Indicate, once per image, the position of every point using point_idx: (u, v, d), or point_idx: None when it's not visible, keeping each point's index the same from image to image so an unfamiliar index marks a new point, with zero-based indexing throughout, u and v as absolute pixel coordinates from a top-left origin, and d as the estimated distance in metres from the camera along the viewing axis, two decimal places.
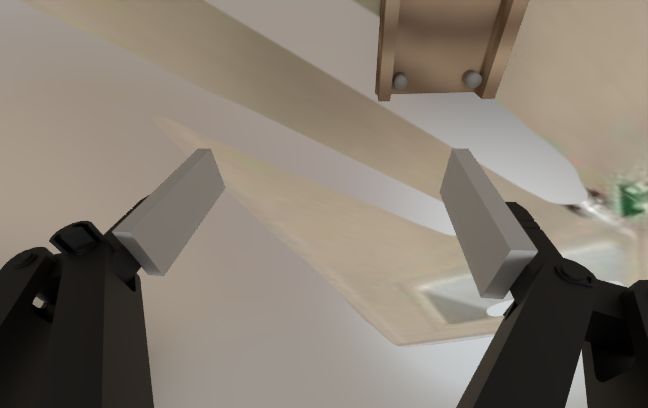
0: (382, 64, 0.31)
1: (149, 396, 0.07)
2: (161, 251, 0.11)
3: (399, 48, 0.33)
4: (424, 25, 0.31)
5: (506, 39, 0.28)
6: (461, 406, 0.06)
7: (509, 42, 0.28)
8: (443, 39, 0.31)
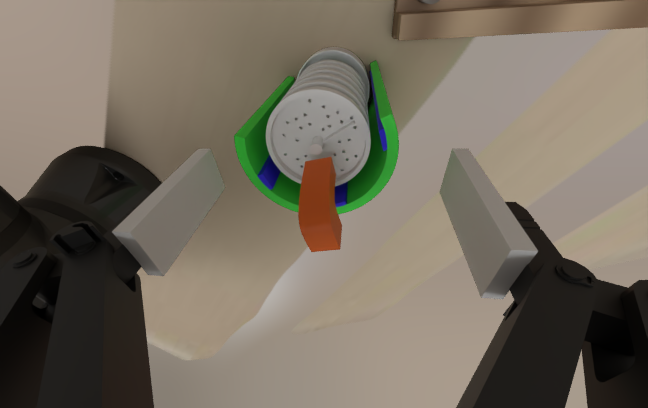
0: (576, 28, 0.17)
1: (150, 395, 0.07)
2: (161, 251, 0.11)
3: None
4: None
5: None
6: (461, 406, 0.06)
7: None
8: None
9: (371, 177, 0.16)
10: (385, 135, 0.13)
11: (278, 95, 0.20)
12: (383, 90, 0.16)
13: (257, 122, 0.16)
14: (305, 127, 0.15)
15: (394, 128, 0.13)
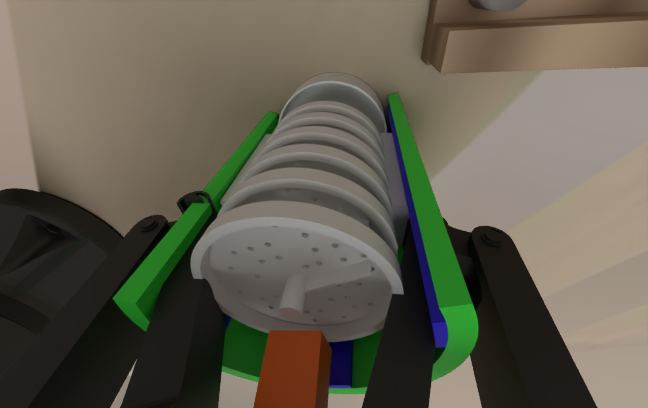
0: None
1: (219, 373, 0.08)
2: None
3: None
4: None
5: None
6: None
7: None
8: None
9: None
10: (447, 330, 0.06)
11: (244, 155, 0.13)
12: (425, 180, 0.08)
13: (184, 237, 0.08)
14: (272, 259, 0.08)
15: (472, 323, 0.05)
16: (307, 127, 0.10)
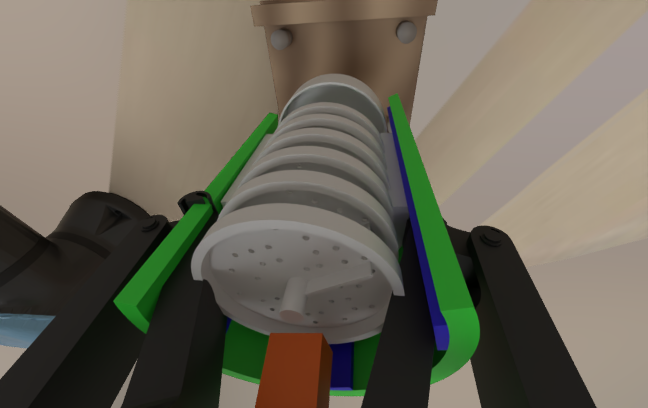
0: None
1: (220, 373, 0.08)
2: None
3: None
4: None
5: (358, 11, 0.22)
6: None
7: (363, 4, 0.22)
8: (358, 77, 0.28)
9: None
10: (448, 333, 0.05)
11: (244, 156, 0.13)
12: (426, 182, 0.08)
13: (184, 239, 0.08)
14: (272, 262, 0.08)
15: (473, 326, 0.05)
16: (307, 129, 0.10)
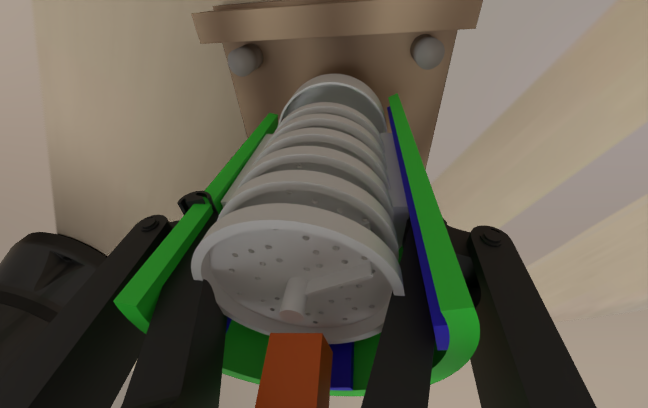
0: None
1: (219, 373, 0.08)
2: None
3: None
4: None
5: (356, 22, 0.14)
6: None
7: (363, 12, 0.14)
8: None
9: None
10: (448, 333, 0.05)
11: (244, 156, 0.13)
12: (426, 182, 0.08)
13: (184, 239, 0.08)
14: (272, 262, 0.08)
15: (474, 327, 0.05)
16: (307, 129, 0.10)
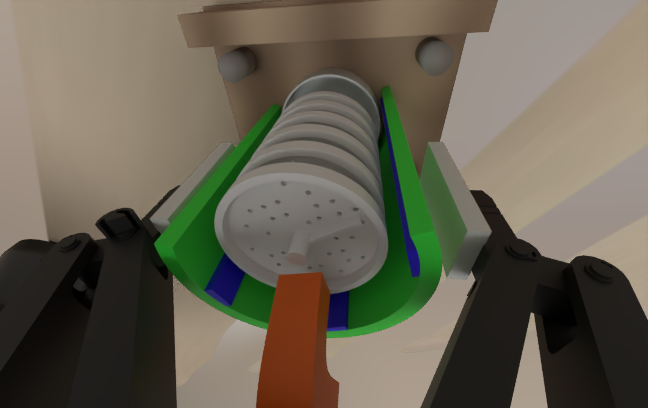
0: None
1: (173, 385, 0.07)
2: None
3: None
4: None
5: (357, 25, 0.13)
6: (432, 386, 0.07)
7: (365, 13, 0.13)
8: None
9: (387, 289, 0.10)
10: (418, 258, 0.07)
11: (252, 140, 0.14)
12: (407, 153, 0.10)
13: (206, 202, 0.10)
14: (280, 217, 0.09)
15: (436, 250, 0.07)
16: (308, 111, 0.11)
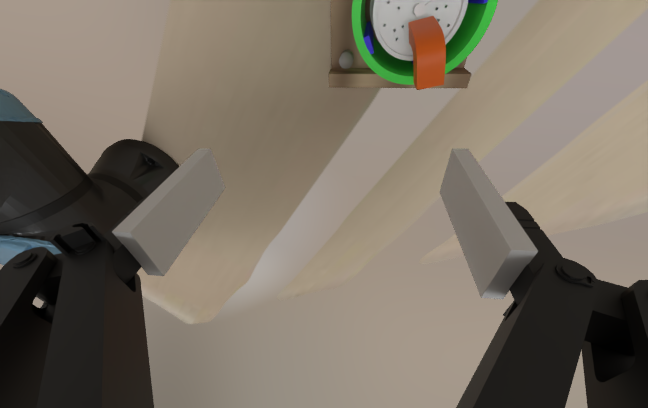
0: None
1: (149, 395, 0.07)
2: (161, 251, 0.11)
3: None
4: None
5: None
6: (461, 406, 0.06)
7: None
8: None
9: (460, 45, 0.18)
10: None
11: None
12: None
13: None
14: None
15: None
16: None
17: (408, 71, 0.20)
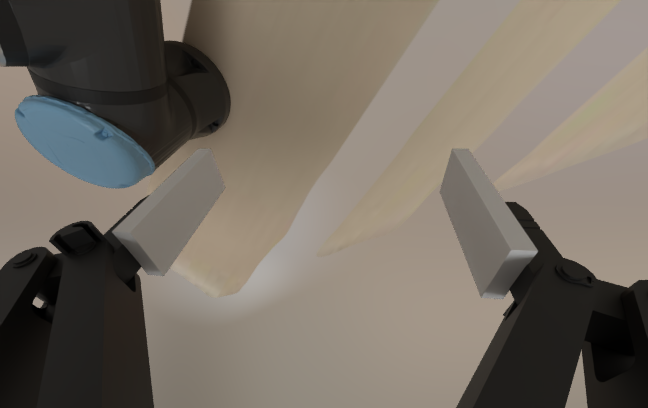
0: None
1: (149, 396, 0.07)
2: (161, 251, 0.11)
3: None
4: None
5: None
6: (461, 406, 0.06)
7: None
8: None
9: None
10: None
11: None
12: None
13: None
14: None
15: None
16: None
17: None
